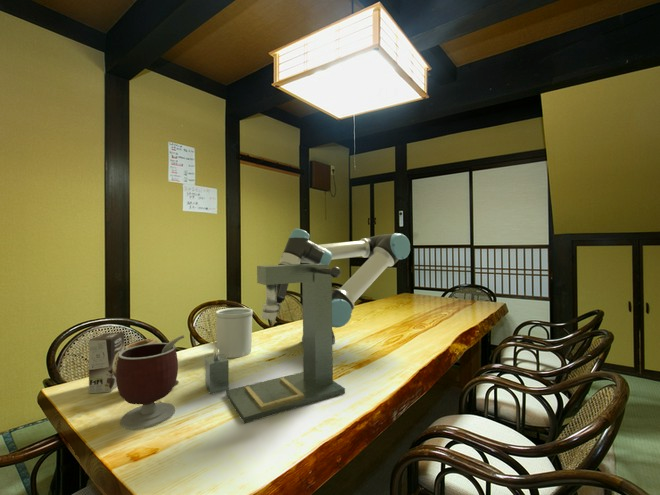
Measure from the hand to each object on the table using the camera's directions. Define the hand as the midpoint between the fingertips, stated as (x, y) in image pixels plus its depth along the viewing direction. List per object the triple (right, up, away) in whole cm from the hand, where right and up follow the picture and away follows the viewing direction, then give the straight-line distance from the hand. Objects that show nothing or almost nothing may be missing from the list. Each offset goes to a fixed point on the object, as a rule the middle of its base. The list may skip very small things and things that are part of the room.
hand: (267, 319), depth 118 cm
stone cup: (-33, -18, -19) cm, 42 cm away
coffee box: (-47, -18, -17) cm, 53 cm away
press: (+12, -17, -27) cm, 34 cm away
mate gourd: (-23, -17, -35) cm, 45 cm away
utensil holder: (-16, -18, +15) cm, 28 cm away
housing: (-12, -17, -18) cm, 28 cm away
